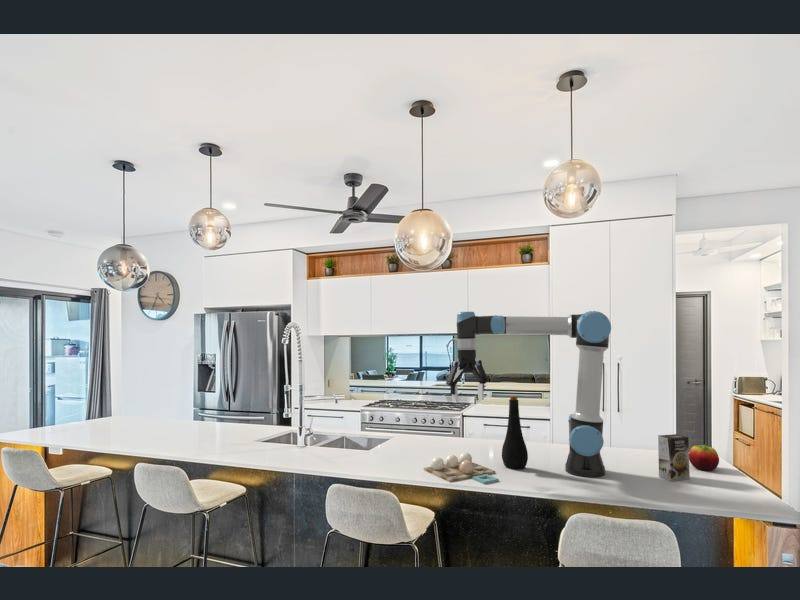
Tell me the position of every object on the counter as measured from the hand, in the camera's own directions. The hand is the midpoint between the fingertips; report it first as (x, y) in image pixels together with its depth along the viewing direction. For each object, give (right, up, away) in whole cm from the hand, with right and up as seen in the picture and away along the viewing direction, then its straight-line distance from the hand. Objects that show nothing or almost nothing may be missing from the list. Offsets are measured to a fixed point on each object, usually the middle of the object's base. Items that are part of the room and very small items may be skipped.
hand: (468, 401), depth 203 cm
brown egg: (-2, -27, -10) cm, 29 cm away
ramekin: (+4, -28, -17) cm, 32 cm away
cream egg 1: (-13, -27, -4) cm, 30 cm away
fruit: (+97, -28, 0) cm, 101 cm away
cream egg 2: (-7, -27, -1) cm, 28 cm away
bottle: (+20, -29, +1) cm, 35 cm away
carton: (-4, -28, -5) cm, 29 cm away
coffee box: (+78, -28, -12) cm, 84 cm away
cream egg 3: (-1, -28, +2) cm, 28 cm away
